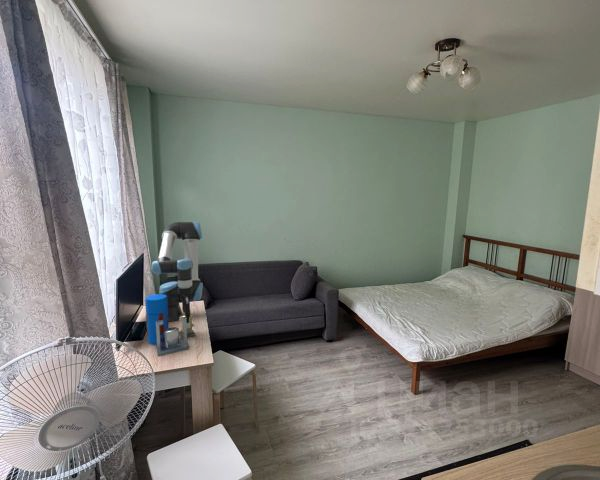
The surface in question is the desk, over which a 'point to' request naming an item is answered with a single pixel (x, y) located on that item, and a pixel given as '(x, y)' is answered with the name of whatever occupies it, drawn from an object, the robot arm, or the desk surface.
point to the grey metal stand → (172, 339)
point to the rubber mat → (188, 334)
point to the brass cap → (190, 324)
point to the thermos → (156, 316)
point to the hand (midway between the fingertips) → (186, 325)
